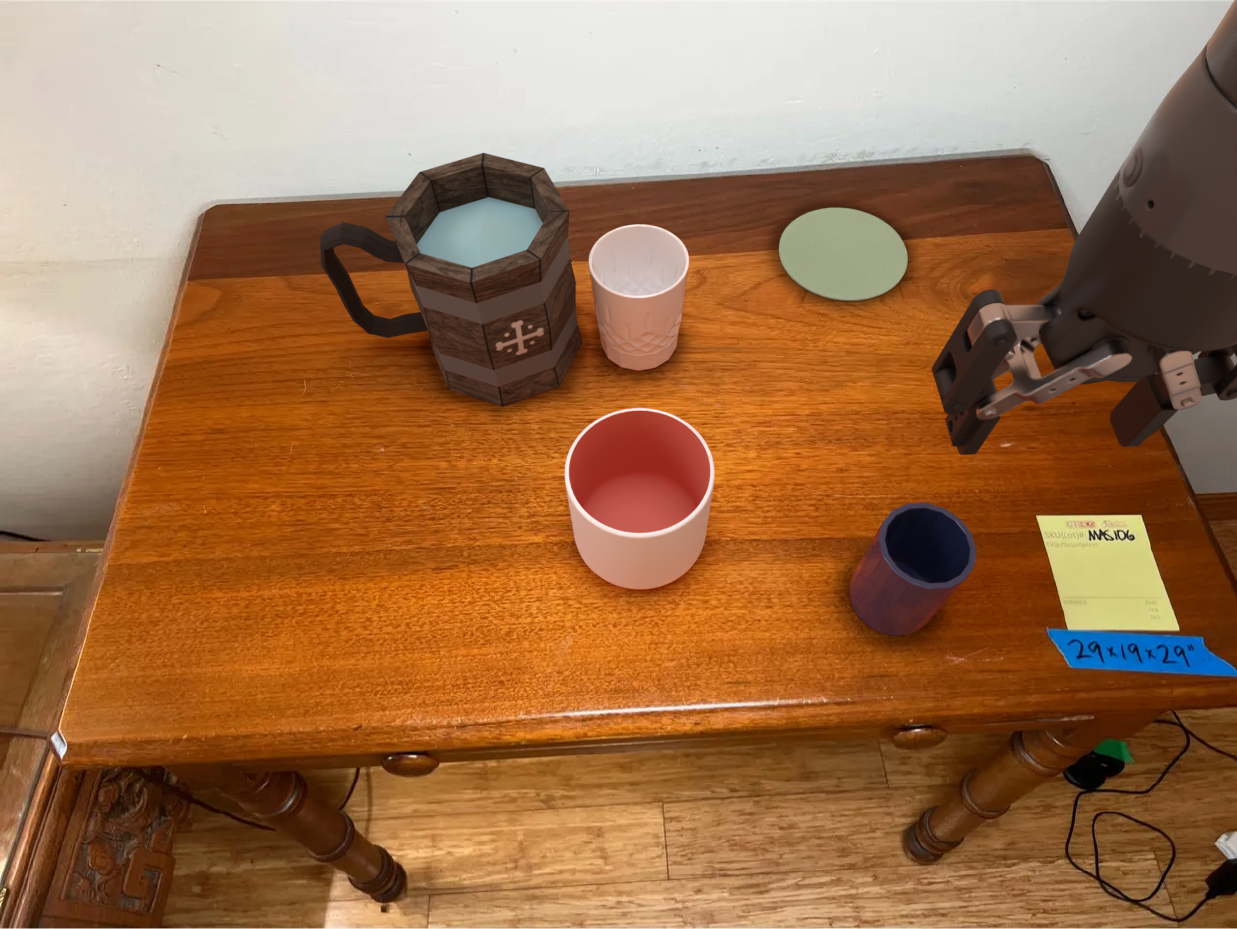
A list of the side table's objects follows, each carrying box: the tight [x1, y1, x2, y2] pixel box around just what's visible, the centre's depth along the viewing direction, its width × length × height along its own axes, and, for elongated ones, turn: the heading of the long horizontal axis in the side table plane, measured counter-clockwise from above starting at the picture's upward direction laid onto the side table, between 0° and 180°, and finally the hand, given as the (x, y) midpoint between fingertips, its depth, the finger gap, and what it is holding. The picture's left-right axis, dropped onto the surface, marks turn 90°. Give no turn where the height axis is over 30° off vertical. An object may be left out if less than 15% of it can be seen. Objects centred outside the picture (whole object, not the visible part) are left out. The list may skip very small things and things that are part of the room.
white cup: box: [588, 223, 690, 371], centre depth 68 cm, size 8×8×10 cm
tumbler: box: [848, 502, 978, 637], centre depth 56 cm, size 6×6×9 cm
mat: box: [778, 207, 909, 302], centre depth 77 cm, size 12×12×1 cm
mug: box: [319, 152, 583, 408], centre depth 66 cm, size 20×14×15 cm
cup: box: [564, 407, 716, 590], centre depth 58 cm, size 10×10×10 cm
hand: (1041, 436), depth 43 cm, fingers open, 8 cm apart
